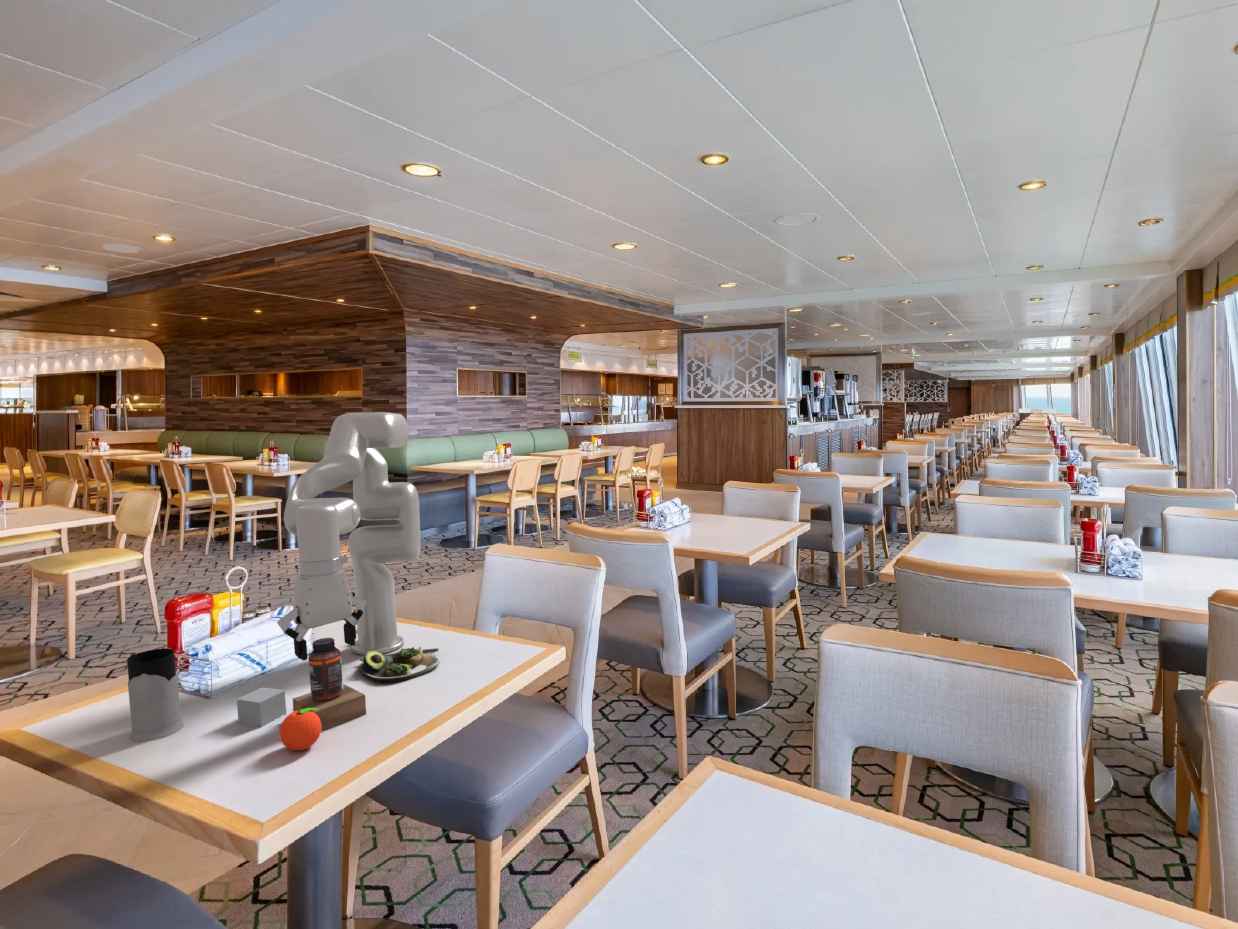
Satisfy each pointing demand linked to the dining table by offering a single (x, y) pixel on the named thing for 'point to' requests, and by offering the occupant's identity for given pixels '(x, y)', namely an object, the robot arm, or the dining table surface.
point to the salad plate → (396, 664)
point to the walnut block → (334, 707)
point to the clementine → (300, 729)
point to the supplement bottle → (325, 670)
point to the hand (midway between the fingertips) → (326, 651)
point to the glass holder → (153, 695)
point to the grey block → (261, 706)
